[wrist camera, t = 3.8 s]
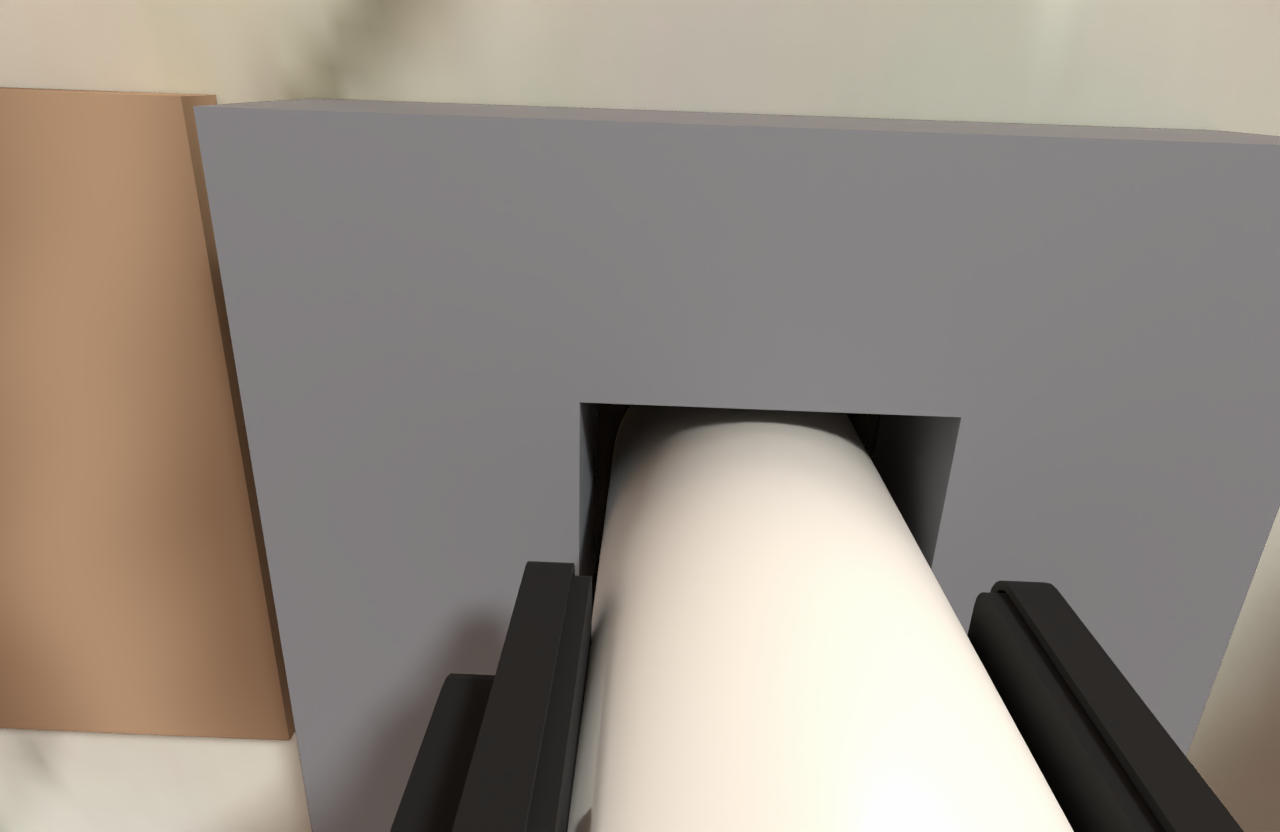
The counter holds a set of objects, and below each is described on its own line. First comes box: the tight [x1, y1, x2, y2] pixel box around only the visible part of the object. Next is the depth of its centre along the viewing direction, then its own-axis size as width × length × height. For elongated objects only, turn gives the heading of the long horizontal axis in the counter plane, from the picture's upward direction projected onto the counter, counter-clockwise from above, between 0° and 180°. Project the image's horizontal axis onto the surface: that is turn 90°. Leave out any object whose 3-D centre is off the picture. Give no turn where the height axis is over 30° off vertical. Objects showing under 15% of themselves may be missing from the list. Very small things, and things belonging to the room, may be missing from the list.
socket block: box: [193, 98, 1280, 832], centre depth 13 cm, size 14×12×4 cm
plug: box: [567, 404, 1074, 832], centre depth 9 cm, size 4×4×12 cm
